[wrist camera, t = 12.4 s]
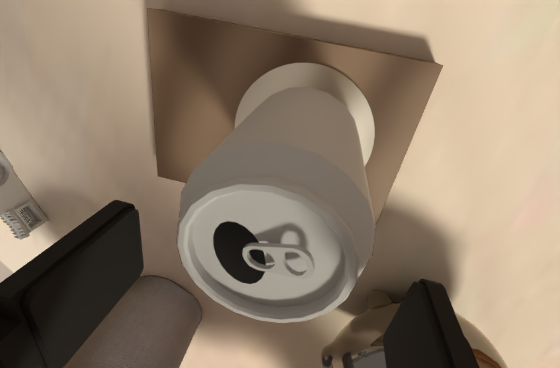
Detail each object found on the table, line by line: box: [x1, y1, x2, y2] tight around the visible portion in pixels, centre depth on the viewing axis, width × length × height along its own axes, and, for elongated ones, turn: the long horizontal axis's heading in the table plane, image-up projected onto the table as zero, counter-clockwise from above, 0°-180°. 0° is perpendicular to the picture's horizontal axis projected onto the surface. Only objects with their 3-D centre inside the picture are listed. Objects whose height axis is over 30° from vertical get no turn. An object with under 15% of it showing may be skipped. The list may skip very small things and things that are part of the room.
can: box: [176, 87, 376, 323], centre depth 15 cm, size 8×8×12 cm
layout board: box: [147, 8, 443, 225], centre depth 20 cm, size 18×12×2 cm, turn 81°
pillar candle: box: [63, 276, 202, 368], centre depth 28 cm, size 10×10×15 cm
